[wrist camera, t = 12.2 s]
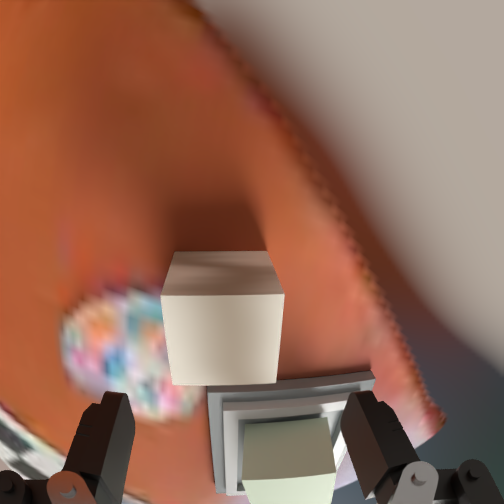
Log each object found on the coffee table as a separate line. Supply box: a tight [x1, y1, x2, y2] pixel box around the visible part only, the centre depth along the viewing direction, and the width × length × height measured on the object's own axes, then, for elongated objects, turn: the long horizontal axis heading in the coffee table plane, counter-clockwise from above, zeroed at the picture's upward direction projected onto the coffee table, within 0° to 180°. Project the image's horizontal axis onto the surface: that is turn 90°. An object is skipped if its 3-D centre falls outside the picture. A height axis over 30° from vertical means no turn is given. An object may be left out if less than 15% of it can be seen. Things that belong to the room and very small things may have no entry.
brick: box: [241, 417, 336, 504], centre depth 20 cm, size 10×6×5 cm, turn 7°
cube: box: [161, 251, 285, 386], centre depth 16 cm, size 5×5×5 cm
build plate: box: [207, 371, 376, 496], centre depth 23 cm, size 12×16×2 cm
